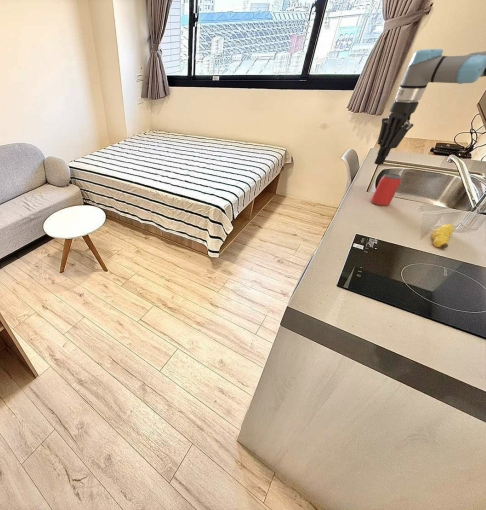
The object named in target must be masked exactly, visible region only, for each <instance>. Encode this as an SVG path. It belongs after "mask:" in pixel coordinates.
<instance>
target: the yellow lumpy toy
mask: <svg viewBox="0 0 486 510" xmlns="http://www.w3.org/2000/svg"><path fill="white" fill-rule="evenodd" d="M454 231H455V227H454V225H453V224H449V223H446V224H442V225H441V226H439V227H437V228H436V229H435V230H434V231H433V234H432V235H431V238H432V240H433V242H432V243H433V245H434V247H436V248H441V249H446V248H448V247H449V244H448V243H449V241H450V237H451V236H452V234H453V233H454Z"/></svg>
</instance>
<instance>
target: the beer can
mask: <svg viewBox="0 0 486 510" xmlns="http://www.w3.org/2000/svg"><path fill="white" fill-rule="evenodd" d="M401 181H402V175H400V174H398V173H390V172H389V173H384V174H383V176H382V177H381V178H380V179H379V181H378V184H377V186H376V189H375V190H374V193H373V195H372V196H371V199H370V202H371V203H372V204H373V205H376V206H380V207H381V206H382V207H386V206H389V205H391V203H392V200H393V198H394V197H395V194H396V192H397V190H398V188H399V187H400V184H401V183H402V182H401Z"/></svg>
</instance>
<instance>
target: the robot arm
mask: <svg viewBox="0 0 486 510" xmlns="http://www.w3.org/2000/svg"><path fill="white" fill-rule="evenodd" d="M443 53H444V50H443V49H442V48H427V49H419V50H417V51H415V52H414V54H413V56H412V58H411V60H410V62H409V64H408V65H407V69H406V71H405V73H404V75H403V78H402V81H401V82H400V86H399V88H398V90H397V92H396V95H395V98H394V101H393V102H392V104H391V107H390V109H389V112H390V113H389V114H388V116H387V117H383V118H382V119H381V127H380V130H379V135H378V139H377V142H376V143H377V145H379V149H378V151H377V156H376V158H375V160H374V164H375V165H384V163H385V161H386V159H387V157H388V156H389V154H390V153H391V150H392V149H397V148H398V146H399V145H400V144H401V142H402V141H403V139H404V138H405V136H406V135H407V134H408V132H409V131H410V129H412V128H413V127H414V123H411V122H410V120H411V116H412V114H413V113H415V112H416V110H417V108H418V106H419V104H420V103H419V101H421V100H422V98H423V95H424V93H425V91H426V88H427V87H428V84H429V83H432V84H433V83H439V84H440V83H441V84H442V83H443V84H458V85H461V84H473V83H476V82H477V81H478V80H479V79H480V78H483V77H486V51H485V50H484V51H477V52H472V53H469V54H466V55H449V56H448V55H443Z"/></svg>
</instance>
